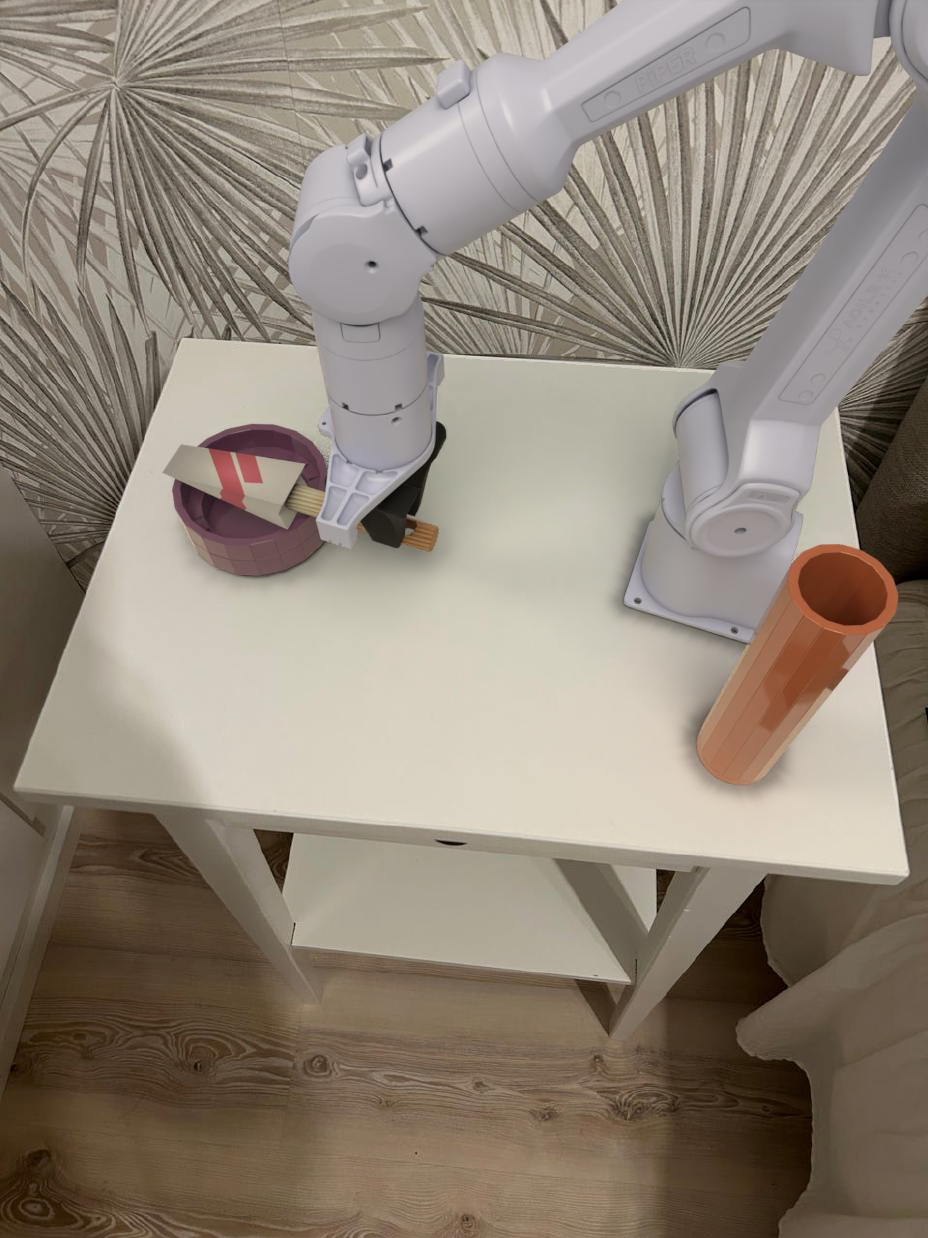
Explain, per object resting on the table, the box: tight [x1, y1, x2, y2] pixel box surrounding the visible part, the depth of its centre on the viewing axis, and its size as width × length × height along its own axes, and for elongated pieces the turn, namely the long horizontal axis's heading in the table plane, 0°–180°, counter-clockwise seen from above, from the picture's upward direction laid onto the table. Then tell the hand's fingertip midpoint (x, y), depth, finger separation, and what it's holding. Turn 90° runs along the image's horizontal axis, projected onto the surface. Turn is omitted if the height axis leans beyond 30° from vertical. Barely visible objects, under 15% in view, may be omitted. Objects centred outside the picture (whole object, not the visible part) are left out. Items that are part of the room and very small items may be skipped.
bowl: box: [171, 423, 328, 576], centre depth 67 cm, size 11×11×4 cm
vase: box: [696, 543, 899, 786], centre depth 50 cm, size 5×5×20 cm
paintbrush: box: [162, 443, 440, 553], centre depth 62 cm, size 4×3×20 cm
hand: (395, 524), depth 61 cm, fingers closed on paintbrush, 2 cm apart
